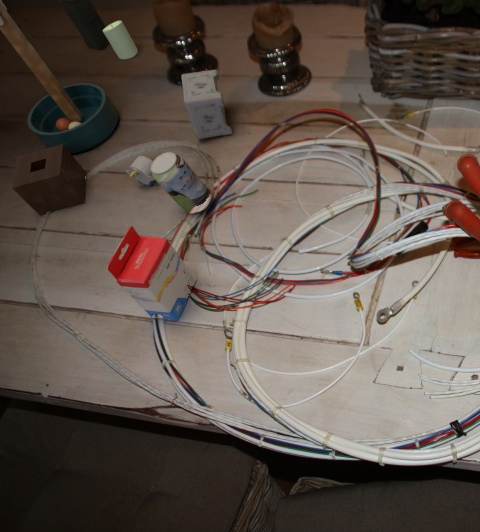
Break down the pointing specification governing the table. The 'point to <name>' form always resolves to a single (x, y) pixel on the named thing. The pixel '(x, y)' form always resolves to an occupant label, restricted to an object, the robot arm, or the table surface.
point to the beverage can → (179, 181)
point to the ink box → (152, 274)
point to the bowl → (92, 125)
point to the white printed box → (205, 104)
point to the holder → (49, 179)
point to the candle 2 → (120, 40)
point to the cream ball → (73, 124)
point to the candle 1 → (86, 22)
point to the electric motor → (141, 170)
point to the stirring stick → (38, 67)
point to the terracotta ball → (62, 124)
